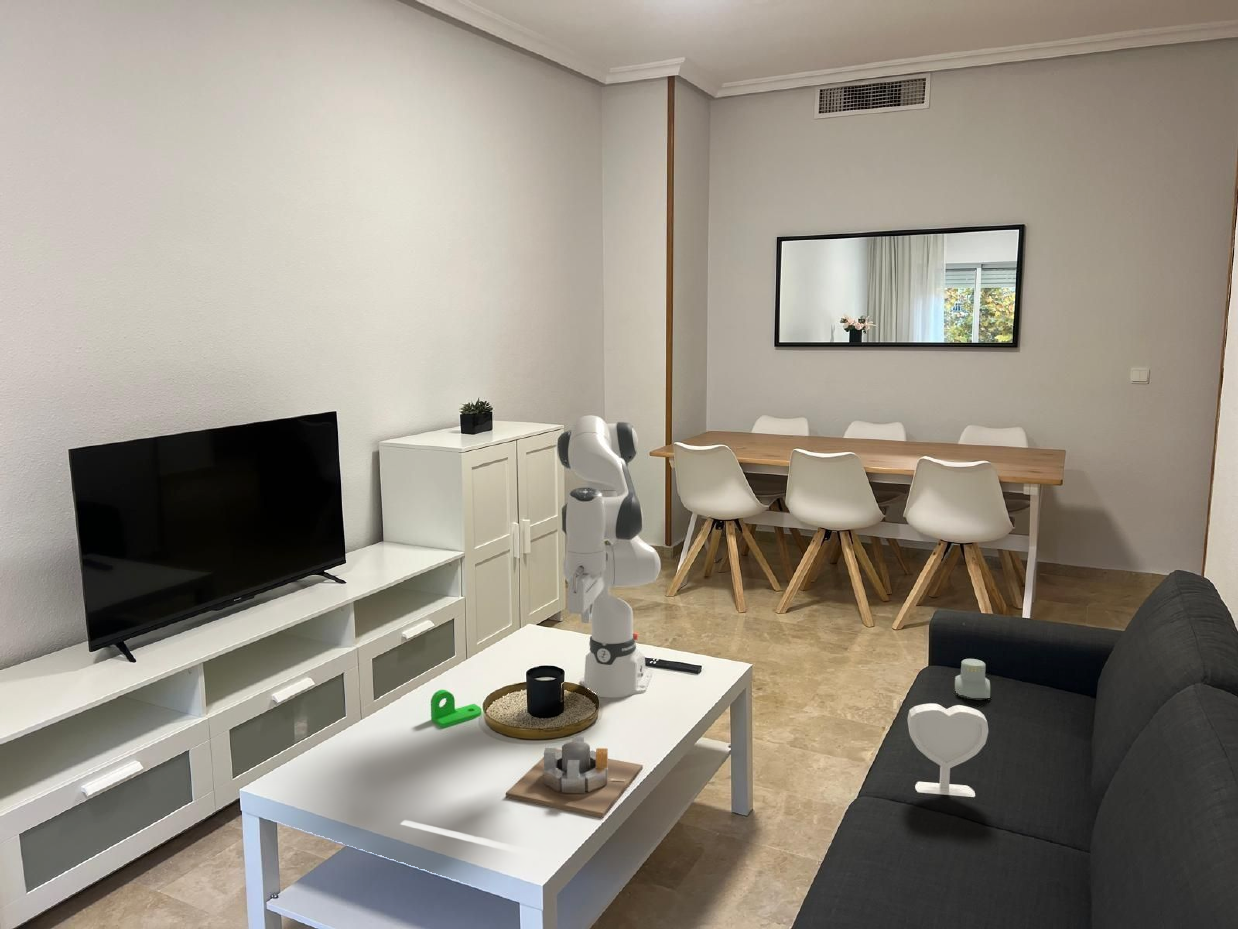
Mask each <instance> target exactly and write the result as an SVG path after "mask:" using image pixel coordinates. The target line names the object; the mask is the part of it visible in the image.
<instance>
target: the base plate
mask: <svg viewBox="0 0 1238 929" xmlns="http://www.w3.org/2000/svg"><path fill="white" fill-rule="evenodd" d="M561 751H562V771H563V772H564V773H567V764H568V760H580V773H581V774H583V773H585V772H587V771H590V751H591V745H590V744H589V743H587V742H585V741H584V742H580V741H573V742H572V741H569V742H566V743H564V744H563V745H562V746H561V749H558V748H556V753H559V752H561ZM543 767H544V756H543V757H542V758H541V759H540V760H539V761H538V762H537V763H536V764H534V765H533V766H532V768H531V769H529V770H528V771H527V772H526V773H524V775H523V776H522V777H520V779H518V781H516V783H515V784H513V786H511V787H510V788H509V789H508V790H507V791H506V792H505V798H508V799H512V800H517V801H521V802H526V803H531V804H536V805H540V806H541V805H542V806H545V807H551V808H554V809H561V810H564V811H570V812H575V813H579V814H584V815H589V816H593V817H598V818H602V819H604V817H605V816H606V815H607V814H608V813H609V812H610V811H611V809H612V808H613V807H614V806H615V804H616V803H617V802H618V800H620V798H621V797H622V796H623V794H624V793H625V792H626V791H627V790H628V788H629V786H630V785H631V784H632V783H634V782H633V781H635V779H636V778H637V777H638V776H639V775H640V773H641V772H642V770H643V768H644V766H643V764H639V763H634V762H630V761H624V760H623V761H622V760H617V759H611V758H608V780H607V783H606V785H604V786H601V787H599V788H597V789H595V790H593V791H590V792H587V791H585V793H562V791H560V792H558V791H556V790H554V789H553V788H551V787H549V786H548V785H546V784H544V782H543Z"/></svg>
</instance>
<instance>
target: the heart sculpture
mask: <svg viewBox="0 0 1238 929" xmlns="http://www.w3.org/2000/svg"><path fill="white" fill-rule="evenodd" d="M906 721H907V725H908V733H909V736H910V739H911V740H912V742H913V744H914V745H915V748H917V750H918V751H920V753H922V754H923V755H924V756H925V757H926V758H928V759H929V760H930V761H932V762H934V763H936V765H938V766H939V783H938V782H928V781H927V782H926V781H917V782H916V784H915V786H914V787H915V790H916V791H917V793H922V794H923V793H925V794H936V795H945V796H946V795H947V796H955V797H958V796H959V797H968V798H969V797H971V798H975V797H976V793H975V790H974V789H973V788H972V787H970V786H968V785H963V784H951V783H950V776H951V768H954V767H955V766H959V765H960V764H962V763H965V762H968V760H970V759H972V758H973V757H974V756H976V755H977V754H978V753H979V752H980V751H981V750H982V749H983V747H984V746H985V744H986V743H987V739H988V735H989V726H988V724H989V723H988V721H987V719H986V716H985V714H983V713H982V712H981V711H980V710H978V709H976V708H972V707H970V706H966V705H960V704H956V705H952V706H951V707H948V708H945V707H943V706H942V705H940V704H938V703H923V704H918V705H915V706H912V707H911V708H910V709H909V710H908V715H907V720H906Z"/></svg>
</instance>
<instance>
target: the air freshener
mask: <svg viewBox="0 0 1238 929" xmlns="http://www.w3.org/2000/svg"><path fill="white" fill-rule="evenodd" d="M960 665H961V667H960V674H958V675H956V676H955V677H954V692H955V691H956V693H958V694H959V695H964V696H967V697H970V698H991V683H990V682H991V681H990V679H988V678H987V677H986V663H985V662H984V661H982V660H979V659H977V658H976V659H975V658H965V659H963V660H962V661H961V664H960Z"/></svg>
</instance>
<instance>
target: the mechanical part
mask: <svg viewBox="0 0 1238 929" xmlns="http://www.w3.org/2000/svg"><path fill="white" fill-rule="evenodd" d="M444 699H445V702H444V704H443V705H442V706H440V704H441V701H443V700H444ZM455 701H456V700H455V696H454V694H453V693H451V692H450V691H448V690H447V689H439V690H437V691H436V692H435V693H434V694H433V695H432V696H431V699H430V720H431V721H432V722H433V723H435V724H436V725H437V726H439V727H440V728H441V729H445V728H449V727H451V726H455V725H457V724H461V723H465V722H468V721H470V720H474V719H477V718H479V717H480V716H482V713H483V712H482V708H481V707H480V706H478V705H477V704H476V703H471V704H468V705H465V706H461V707H458V708H456V706H455V704H456V703H455Z"/></svg>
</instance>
